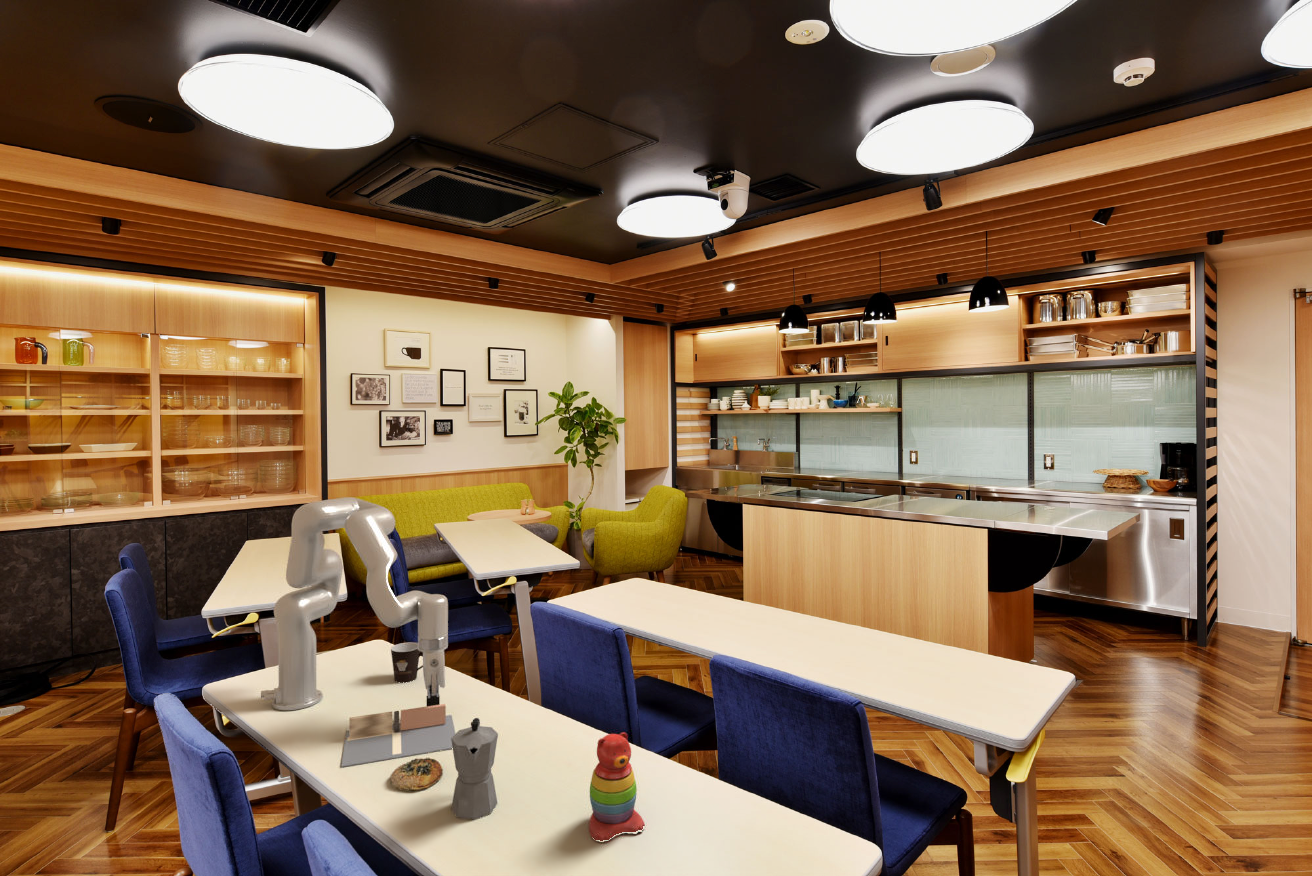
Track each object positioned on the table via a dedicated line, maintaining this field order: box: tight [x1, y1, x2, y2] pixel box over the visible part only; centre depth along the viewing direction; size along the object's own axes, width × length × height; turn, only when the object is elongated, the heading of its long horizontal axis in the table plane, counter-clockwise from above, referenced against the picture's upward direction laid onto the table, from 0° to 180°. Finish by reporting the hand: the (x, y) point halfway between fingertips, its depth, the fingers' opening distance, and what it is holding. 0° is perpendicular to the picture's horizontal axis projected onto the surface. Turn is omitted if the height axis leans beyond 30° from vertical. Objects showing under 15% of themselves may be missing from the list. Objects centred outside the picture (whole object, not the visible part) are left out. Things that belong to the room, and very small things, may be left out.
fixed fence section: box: [348, 710, 400, 740], centre depth 168 cm, size 12×1×5 cm, turn 112°
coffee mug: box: [390, 642, 423, 684], centre depth 205 cm, size 12×9×10 cm
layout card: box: [340, 714, 456, 768], centre depth 166 cm, size 26×19×1 cm
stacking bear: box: [588, 732, 646, 841], centre depth 132 cm, size 11×10×18 cm
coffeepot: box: [451, 717, 499, 820], centre depth 139 cm, size 15×9×18 cm, turn 13°
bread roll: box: [390, 757, 444, 792], centre depth 148 cm, size 11×11×5 cm
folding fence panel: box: [400, 703, 447, 731], centre depth 173 cm, size 11×1×5 cm, turn 112°
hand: (433, 710), depth 176 cm, fingers closed
